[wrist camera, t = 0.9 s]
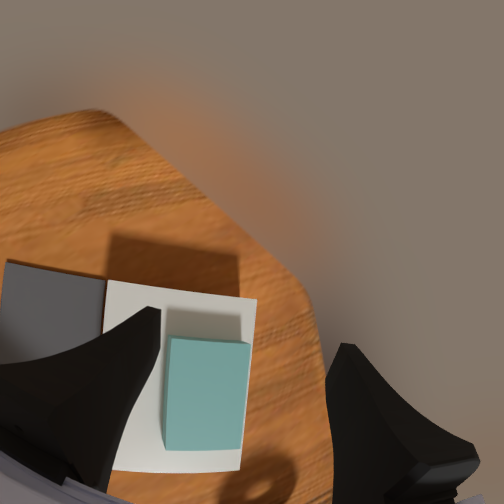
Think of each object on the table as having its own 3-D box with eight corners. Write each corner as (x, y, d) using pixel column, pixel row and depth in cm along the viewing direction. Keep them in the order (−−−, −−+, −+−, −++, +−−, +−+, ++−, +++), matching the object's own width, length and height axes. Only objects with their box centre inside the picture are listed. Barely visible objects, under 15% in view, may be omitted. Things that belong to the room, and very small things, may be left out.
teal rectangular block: (232, 439, 23) (240, 448, 21) (162, 439, 21) (165, 450, 19) (241, 340, 25) (251, 344, 23) (167, 334, 23) (171, 338, 21)
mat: (99, 447, 22) (99, 448, 22) (5, 427, 18) (4, 428, 18) (105, 280, 25) (105, 280, 25) (6, 262, 21) (5, 261, 21)
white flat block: (225, 452, 27) (239, 470, 23) (104, 448, 22) (103, 468, 18) (240, 298, 29) (256, 299, 26) (111, 281, 25) (108, 279, 21)
